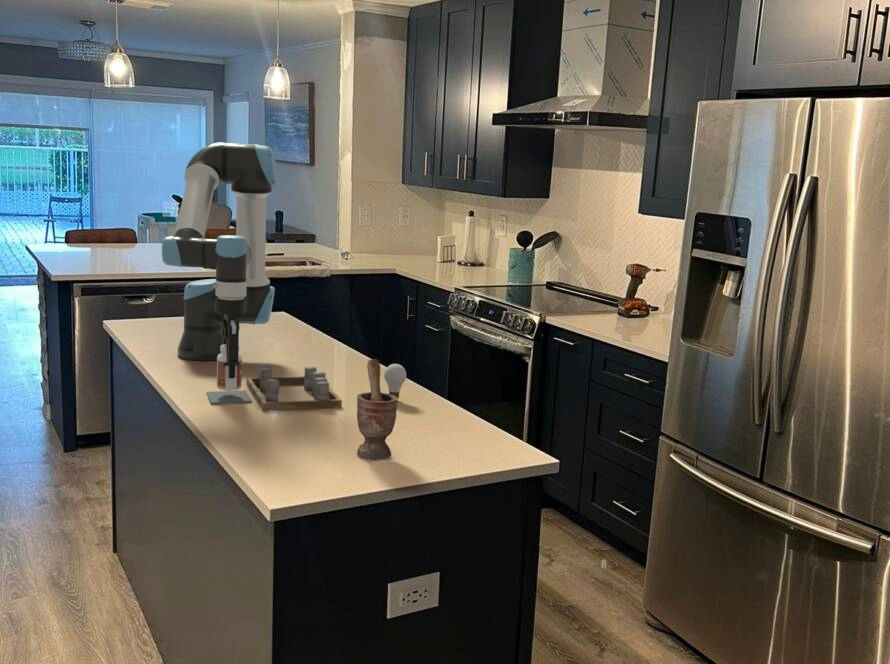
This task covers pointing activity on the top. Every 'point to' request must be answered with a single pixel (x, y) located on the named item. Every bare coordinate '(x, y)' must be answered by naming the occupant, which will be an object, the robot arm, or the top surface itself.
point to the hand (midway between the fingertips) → (229, 386)
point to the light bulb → (395, 378)
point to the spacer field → (310, 380)
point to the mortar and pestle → (375, 416)
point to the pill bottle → (222, 369)
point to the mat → (228, 397)
